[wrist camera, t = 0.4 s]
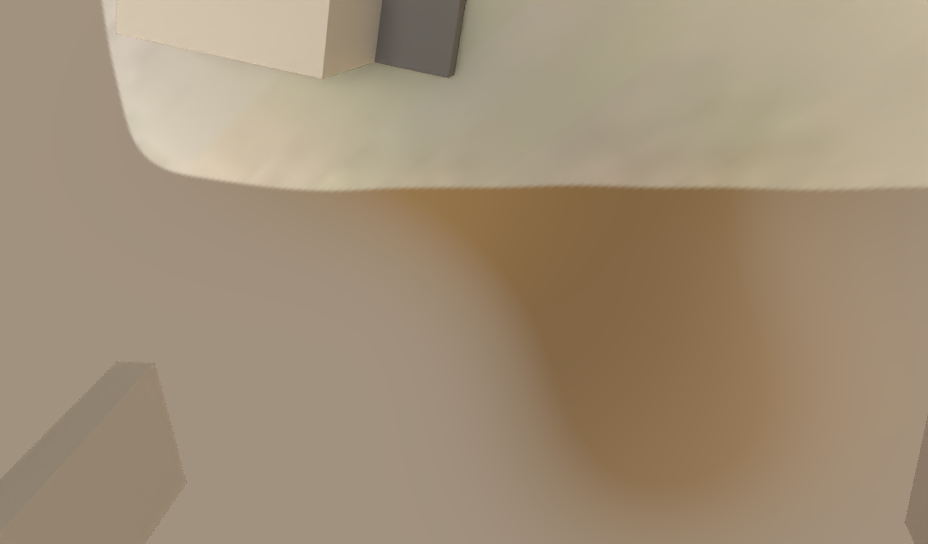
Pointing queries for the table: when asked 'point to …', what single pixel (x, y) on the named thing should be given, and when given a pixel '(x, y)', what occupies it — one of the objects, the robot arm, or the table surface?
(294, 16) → the rail plate
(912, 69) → the table surface
